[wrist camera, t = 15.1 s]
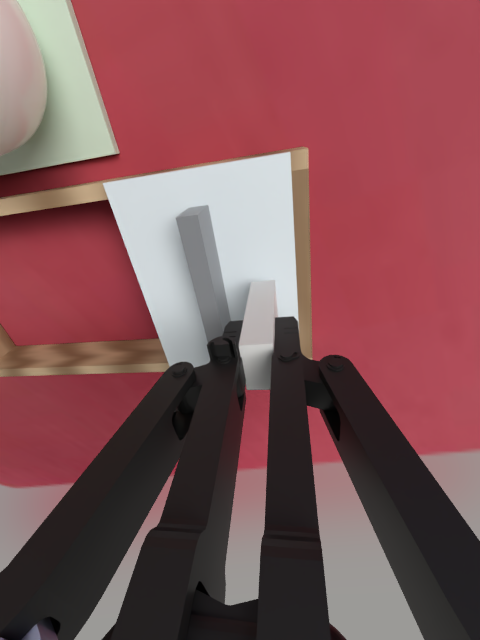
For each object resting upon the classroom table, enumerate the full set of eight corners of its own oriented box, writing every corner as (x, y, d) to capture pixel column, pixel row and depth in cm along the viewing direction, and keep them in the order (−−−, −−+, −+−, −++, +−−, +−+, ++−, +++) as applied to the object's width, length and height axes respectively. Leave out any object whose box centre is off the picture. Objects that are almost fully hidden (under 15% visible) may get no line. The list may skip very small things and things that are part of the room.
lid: (177, 374, 26) (164, 403, 23) (109, 181, 17) (75, 189, 15) (300, 370, 24) (303, 402, 21) (289, 151, 15) (292, 153, 13)
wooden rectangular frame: (13, 353, 33) (-17, 377, 30) (-88, 212, 25) (-145, 223, 22) (308, 339, 27) (312, 367, 24) (303, 146, 19) (308, 148, 16)
